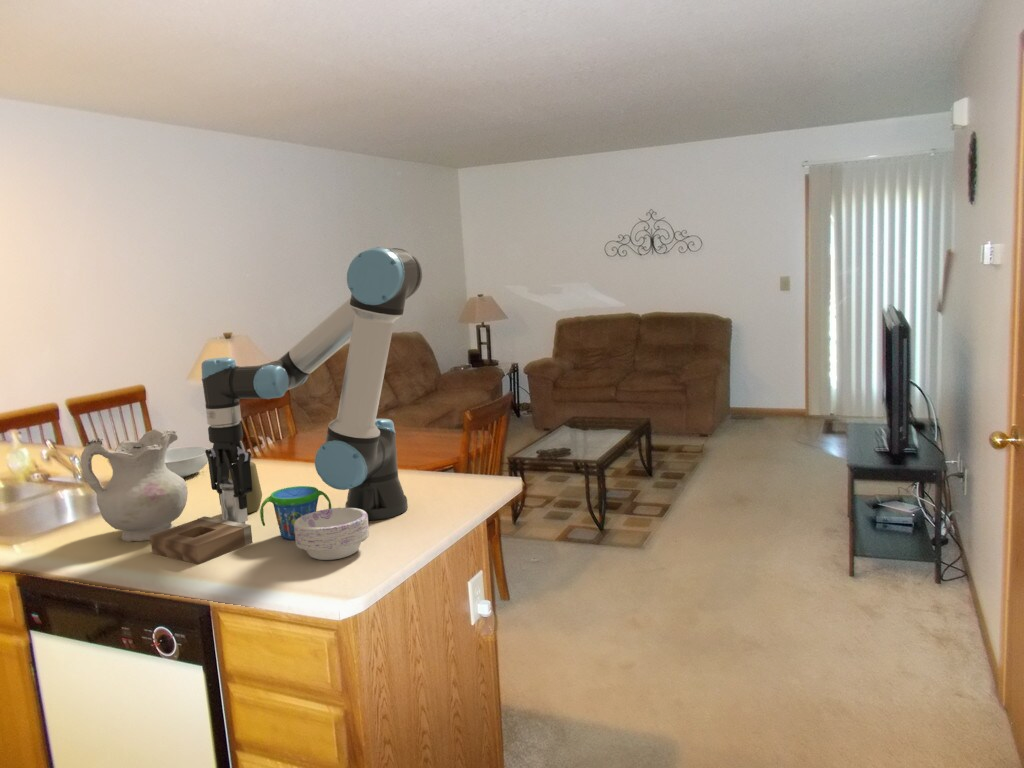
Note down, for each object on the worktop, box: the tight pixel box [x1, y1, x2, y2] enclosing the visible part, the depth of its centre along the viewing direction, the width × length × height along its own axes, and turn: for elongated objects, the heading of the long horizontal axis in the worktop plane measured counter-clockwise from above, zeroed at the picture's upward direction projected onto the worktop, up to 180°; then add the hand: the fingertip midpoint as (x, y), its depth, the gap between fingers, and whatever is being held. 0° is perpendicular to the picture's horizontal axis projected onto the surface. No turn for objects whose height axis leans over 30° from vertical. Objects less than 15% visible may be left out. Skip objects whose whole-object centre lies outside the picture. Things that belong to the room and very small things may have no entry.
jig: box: [149, 515, 253, 565], centre depth 175 cm, size 16×14×4 cm
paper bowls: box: [294, 507, 370, 561], centre depth 167 cm, size 15×15×8 cm
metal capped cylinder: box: [219, 480, 247, 524], centre depth 188 cm, size 5×5×11 cm
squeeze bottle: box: [229, 440, 263, 514], centre depth 200 cm, size 8×8×18 cm
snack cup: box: [259, 485, 333, 541], centre depth 179 cm, size 16×10×10 cm
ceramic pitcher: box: [80, 428, 189, 543], centre depth 185 cm, size 22×20×25 cm
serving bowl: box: [165, 445, 209, 479], centre depth 241 cm, size 21×21×7 cm
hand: (235, 520), depth 188 cm, fingers closed on metal capped cylinder, 4 cm apart
